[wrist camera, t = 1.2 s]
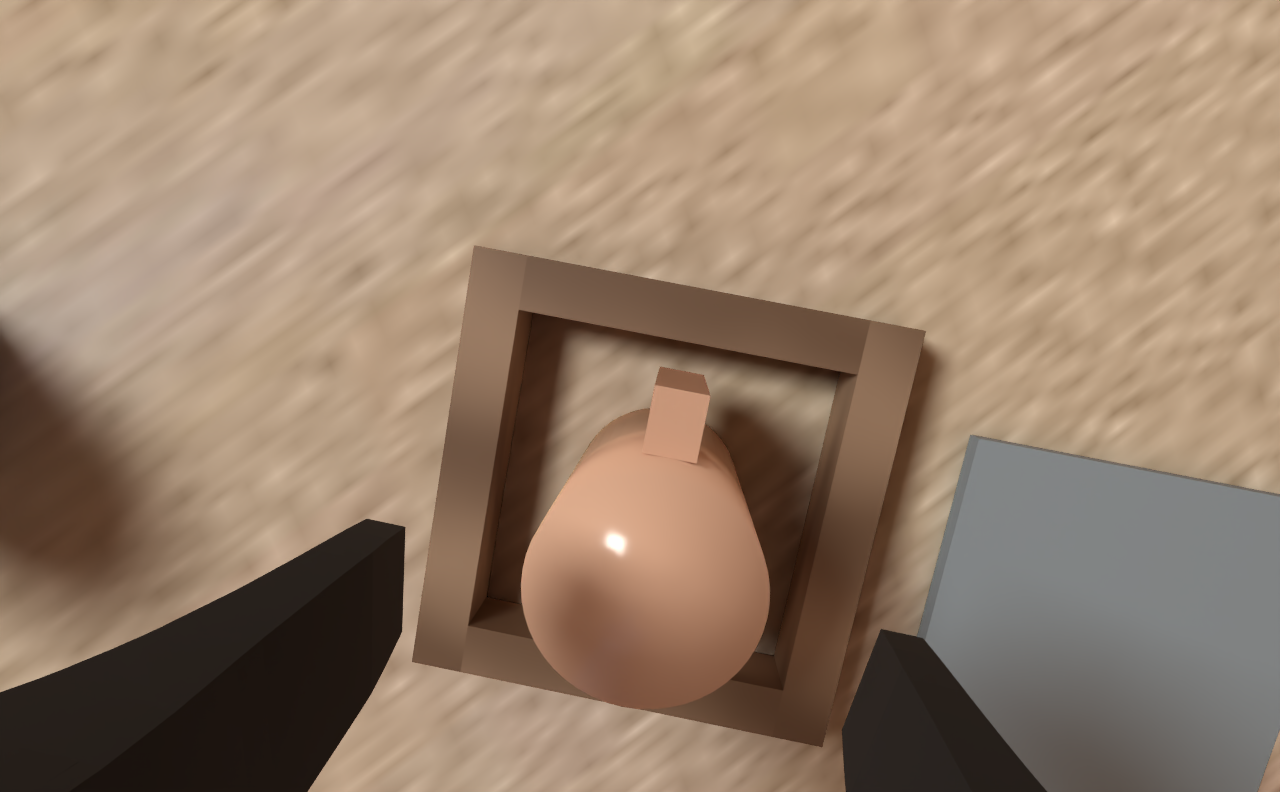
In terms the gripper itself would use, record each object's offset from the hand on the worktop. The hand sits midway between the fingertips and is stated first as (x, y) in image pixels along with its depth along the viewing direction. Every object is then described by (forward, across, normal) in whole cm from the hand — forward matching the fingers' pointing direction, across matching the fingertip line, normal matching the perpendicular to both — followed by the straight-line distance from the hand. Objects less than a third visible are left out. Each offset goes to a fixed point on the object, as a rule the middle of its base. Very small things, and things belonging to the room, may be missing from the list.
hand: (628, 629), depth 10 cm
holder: (+11, 0, +4) cm, 11 cm away
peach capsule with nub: (+11, 0, +4) cm, 11 cm away
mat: (+11, -14, +6) cm, 19 cm away
